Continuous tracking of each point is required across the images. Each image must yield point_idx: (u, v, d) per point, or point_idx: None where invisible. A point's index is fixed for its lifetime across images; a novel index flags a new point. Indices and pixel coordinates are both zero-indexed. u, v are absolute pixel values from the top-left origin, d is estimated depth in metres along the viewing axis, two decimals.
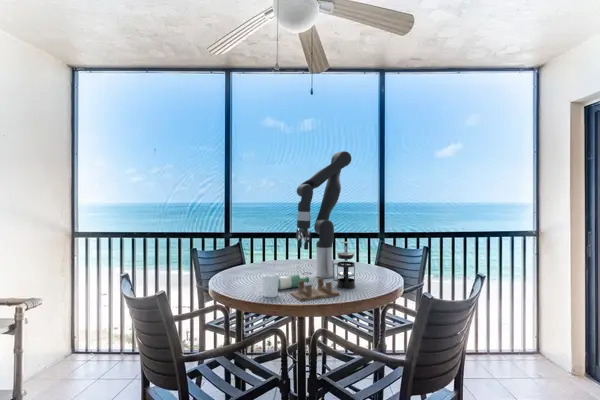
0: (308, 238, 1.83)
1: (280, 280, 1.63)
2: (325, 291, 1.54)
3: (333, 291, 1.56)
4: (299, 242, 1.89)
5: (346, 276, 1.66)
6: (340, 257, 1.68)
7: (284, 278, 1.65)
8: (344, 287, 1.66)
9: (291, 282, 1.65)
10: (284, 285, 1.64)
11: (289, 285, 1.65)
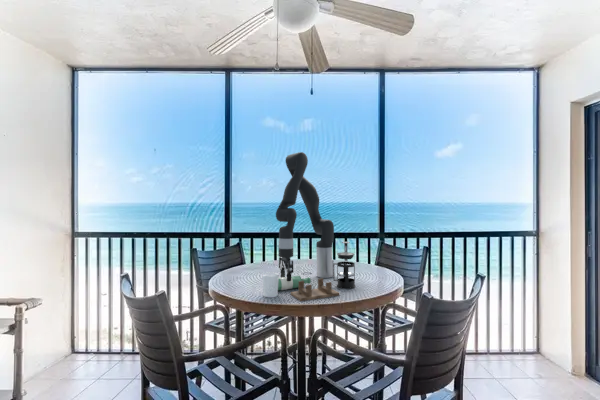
0: None
1: (282, 284, 1.61)
2: (325, 291, 1.54)
3: (333, 291, 1.56)
4: (282, 272, 1.70)
5: (346, 276, 1.66)
6: (340, 257, 1.68)
7: (286, 282, 1.62)
8: (344, 287, 1.66)
9: (292, 286, 1.64)
10: (284, 288, 1.63)
11: (290, 288, 1.64)
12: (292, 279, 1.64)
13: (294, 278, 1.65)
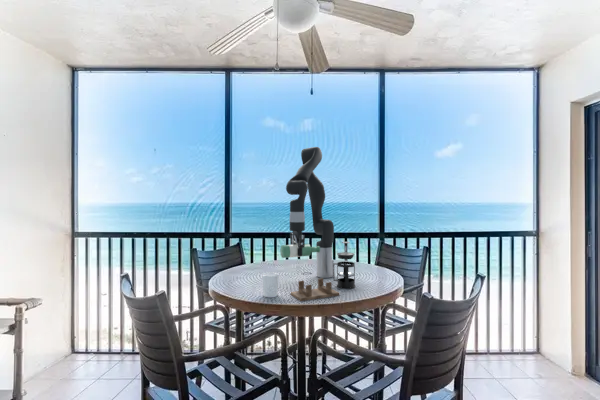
0: None
1: (290, 248, 1.58)
2: (325, 291, 1.54)
3: (333, 291, 1.56)
4: None
5: (346, 276, 1.66)
6: (340, 257, 1.68)
7: (294, 247, 1.59)
8: (344, 287, 1.66)
9: None
10: (293, 253, 1.58)
11: None
12: None
13: None
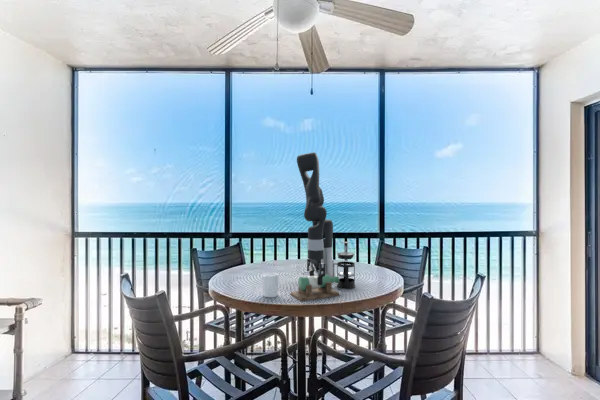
0: (322, 271, 1.52)
1: (309, 281, 1.51)
2: (325, 291, 1.54)
3: (333, 291, 1.56)
4: (311, 275, 1.58)
5: (346, 276, 1.66)
6: (340, 257, 1.68)
7: (313, 279, 1.52)
8: (344, 287, 1.66)
9: None
10: (313, 286, 1.51)
11: (318, 286, 1.53)
12: None
13: None
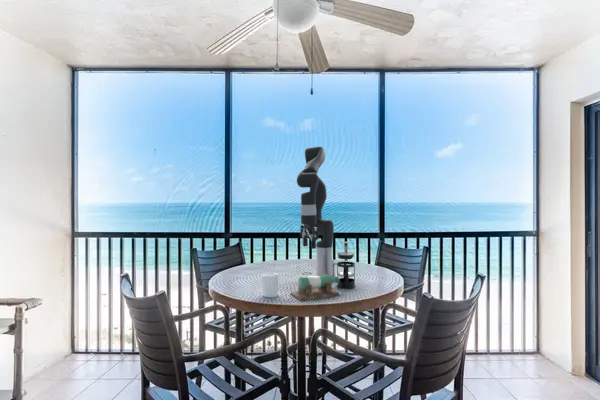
0: (315, 235, 1.57)
1: (309, 281, 1.51)
2: (325, 291, 1.54)
3: (333, 291, 1.56)
4: (304, 240, 1.63)
5: (346, 276, 1.66)
6: (340, 257, 1.68)
7: (313, 279, 1.52)
8: (344, 287, 1.66)
9: (320, 283, 1.53)
10: (313, 286, 1.51)
11: (318, 286, 1.53)
12: (319, 276, 1.55)
13: (321, 275, 1.56)
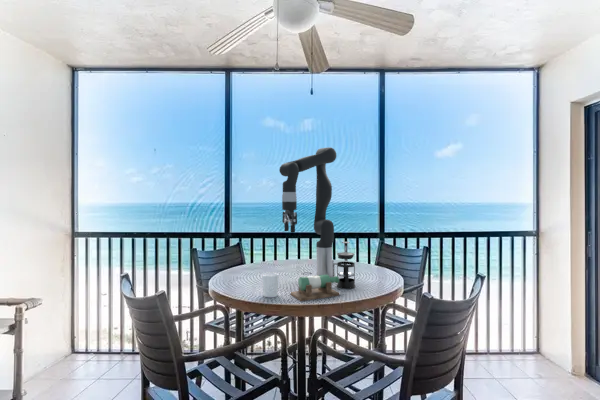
0: None
1: (309, 281, 1.51)
2: (325, 291, 1.54)
3: (333, 291, 1.56)
4: (286, 225, 1.76)
5: (346, 276, 1.66)
6: (340, 257, 1.68)
7: (313, 279, 1.52)
8: (344, 287, 1.66)
9: (320, 283, 1.53)
10: (313, 286, 1.51)
11: (318, 286, 1.53)
12: (319, 276, 1.55)
13: (321, 275, 1.56)
